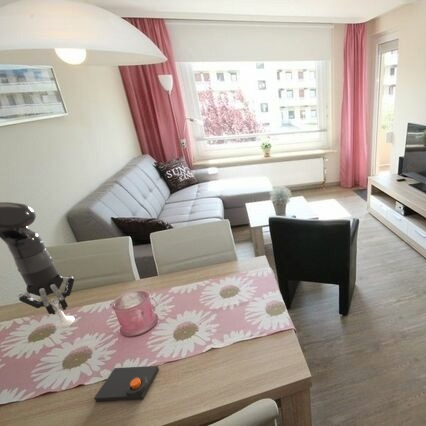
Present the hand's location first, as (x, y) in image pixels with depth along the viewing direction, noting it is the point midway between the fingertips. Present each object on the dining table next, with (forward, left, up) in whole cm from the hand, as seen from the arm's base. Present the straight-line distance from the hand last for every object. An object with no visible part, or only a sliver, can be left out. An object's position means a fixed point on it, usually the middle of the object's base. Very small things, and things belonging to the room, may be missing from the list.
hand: (59, 310), depth 94 cm
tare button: (+9, -29, -18) cm, 36 cm away
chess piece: (0, 0, -5) cm, 5 cm away
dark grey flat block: (+8, -24, -21) cm, 33 cm away
